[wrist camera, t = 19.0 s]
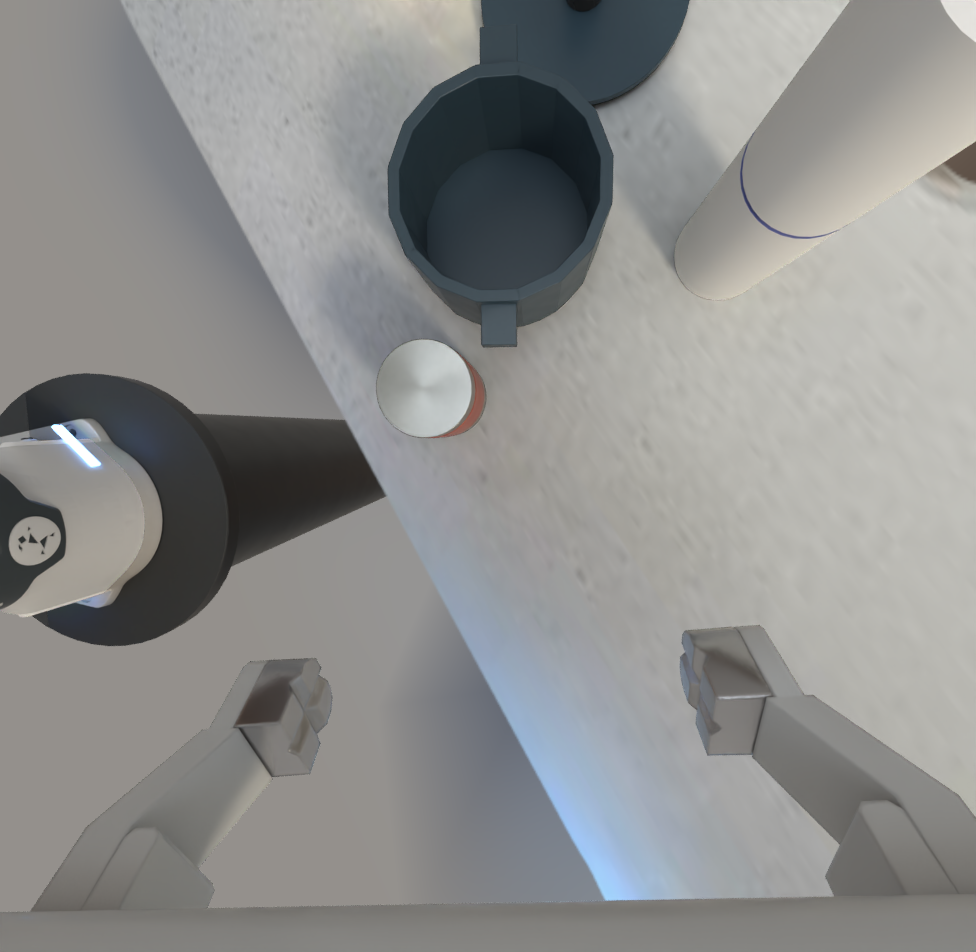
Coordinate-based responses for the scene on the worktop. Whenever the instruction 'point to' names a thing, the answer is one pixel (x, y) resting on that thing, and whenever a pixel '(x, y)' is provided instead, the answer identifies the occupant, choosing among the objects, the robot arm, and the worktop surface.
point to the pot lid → (592, 39)
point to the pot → (501, 189)
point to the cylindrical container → (838, 140)
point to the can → (429, 390)
